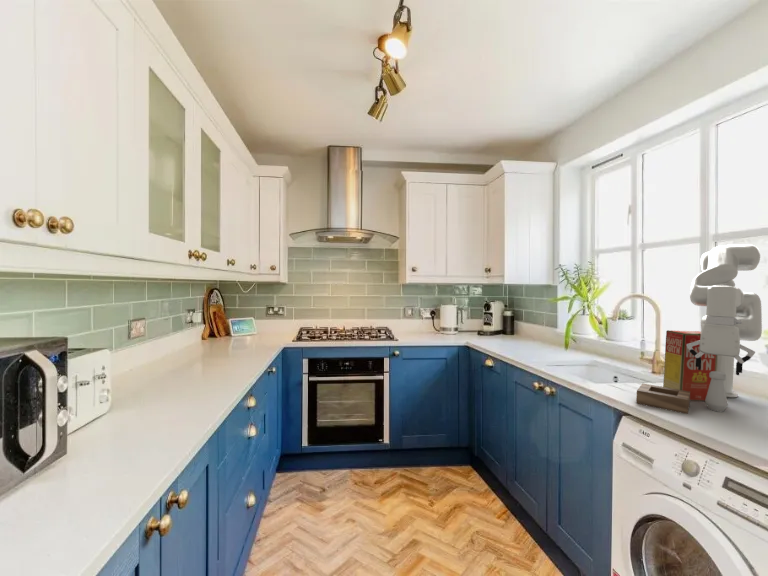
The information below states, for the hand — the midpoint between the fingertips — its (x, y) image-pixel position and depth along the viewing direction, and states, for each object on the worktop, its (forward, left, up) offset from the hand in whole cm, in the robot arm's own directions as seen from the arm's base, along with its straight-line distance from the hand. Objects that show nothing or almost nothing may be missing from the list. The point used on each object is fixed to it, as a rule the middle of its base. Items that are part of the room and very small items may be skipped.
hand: (717, 372), depth 126 cm
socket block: (+6, -14, -14) cm, 20 cm away
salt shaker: (-1, 0, -13) cm, 13 cm away
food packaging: (-13, -8, -13) cm, 20 cm away
